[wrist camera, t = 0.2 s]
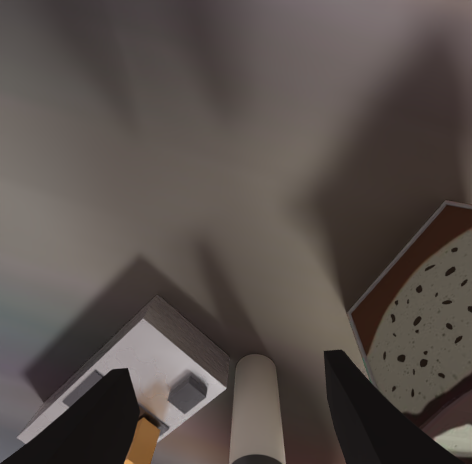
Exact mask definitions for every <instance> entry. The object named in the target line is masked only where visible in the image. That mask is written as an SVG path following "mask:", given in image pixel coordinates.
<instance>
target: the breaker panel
mask: <svg viewBox="0 0 472 464" xmlns="http://www.w3.org/2000/svg"><path fill="white" fill-rule="evenodd" d="M229 361H230V356H228V355H227V354H226V353H225V352H224V351H223V350H221V349H220V348H219V347H218V346H217V345H216V344H215V343H213V342H212V341H211V340H210V339H209V338H208V337H206V336H205V335H204V334H203V333H202V332H201V331H200V330H198V329H197V328H196V327H195V326H194V325H193V324H191V323H190V322H189V321H188V320H187V319H186V318H185V317H183V316H182V315H181V314H180V313H179V312H178V311H176V310H175V309H174V308H173V307H172V306H171V305H170V304H168V303H167V302H166V301H165V300H164V299H163V298H161V297H160V296H159V295H158V294H157V295H156V296H155V297H154V298H153V299H152V300H151V301H150V302H149V303H148V304H147V305H145V306H144V307H143V308H142V309H141V310H140V311H139V312H138V313H137V314H136V315H135V316H134V317H133V318H132V319H131V320H130V321H129V322H128V323H127V324H126V325H125V326H124V327H122V328H121V329H120V330H119V331H118V332H117V333H116V334H115V335H114V336H113V337H112V338H111V339H110V340H109V341H108V342H107V343H106V344H105V345H104V346H103V347H102V348H101V349H100V350H98V351H97V352H96V353H95V354H94V355H93V356H92V357H91V358H90V359H89V360H88V361H87V362H86V363H85V364H84V365H83V366H82V367H81V368H80V369H79V370H78V371H77V372H75V373H74V374H73V375H72V376H71V377H70V378H69V379H68V380H67V381H66V382H65V383H64V384H63V385H62V386H61V387H60V388H59V389H58V390H57V391H56V392H55V393H54V394H52V395H51V396H50V397H49V398H48V399H47V400H46V401H45V402H44V403H43V404H42V406H41V407H40V408H39V410H38V411H37V412H36V413H35V415H34V416H33V417H32V419H31V420H30V421H29V423H28V424H27V425H26V426H25V428H24V429H23V430H22V432H21V433H20V434H19V436H18V437H17V438H18V439H20V440H21V441H22V442H24V443H25V444H27V443H28V442H29V441H31V440H32V439H33V438H34V437H35V436H37V435H38V434H39V433H40V432H41V431H43V430H44V429H45V428H46V427H47V426H48V425H50V424H51V423H52V422H53V421H54V420H56V419H57V418H58V417H59V416H60V415H61V414H63V413H64V412H65V411H66V410H67V409H68V408H69V407H70V406H72V405H73V404H74V403H75V402H76V401H77V400H78V399H79V398H80V397H82V396H83V395H84V394H85V393H86V392H87V391H88V390H89V389H90V388H91V387H92V386H94V385H95V384H96V383H97V382H98V381H99V380H100V379H101V378H102V377H104V376H105V375H106V374H107V373H108V372H109V371H111V370H112V369H120V368H128V370H129V374H130V377H131V381H132V384H133V388H134V391H135V395H136V398H137V402H138V405H139V409H140V415H139V419H138V421H139V420H141V419H142V418H143V417H144V418H145V419H146V420H148V421H149V422H150V423H152V424H153V425H154V426H156V427H157V428H158V429H159V430H160V434H159V437H158V440H157V443H158V442H159V441H160V440H161V439H163V438H164V437H165V436H167V435H168V434H169V433H170V432H172V431H173V430H174V429H176V428H177V427H178V426H179V425H181V424H182V423H183V422H184V421H186V420H187V419H188V418H190V417H191V416H192V415H193V414H195V413H196V412H197V411H199V410H200V409H201V408H202V407H204V406H205V405H206V404H207V403H209V402H210V401H211V400H213V399H214V398H215V397H216V396H218V395H219V394H220V393H222V392H223V391H224V390H225V389H227V381H228V371H229Z"/></svg>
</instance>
